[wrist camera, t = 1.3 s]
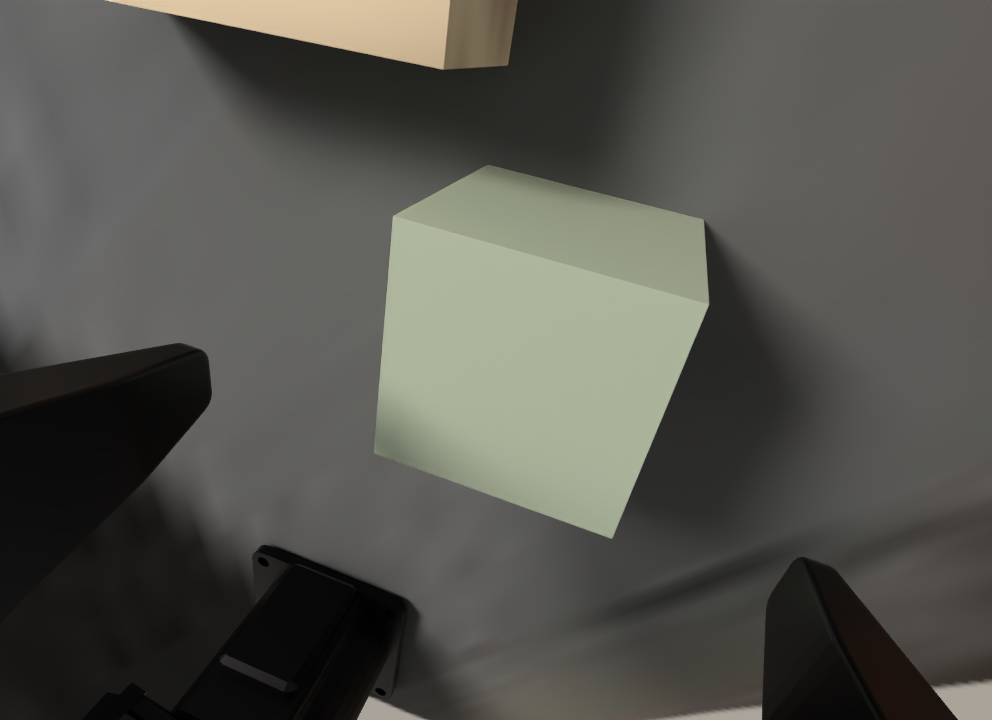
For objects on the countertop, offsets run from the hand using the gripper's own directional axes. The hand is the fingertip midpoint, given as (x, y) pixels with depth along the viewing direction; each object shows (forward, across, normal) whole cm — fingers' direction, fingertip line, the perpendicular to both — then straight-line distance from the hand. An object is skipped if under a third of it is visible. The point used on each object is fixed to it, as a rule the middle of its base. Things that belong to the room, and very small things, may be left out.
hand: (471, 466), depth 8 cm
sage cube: (+7, 0, 0) cm, 7 cm away
